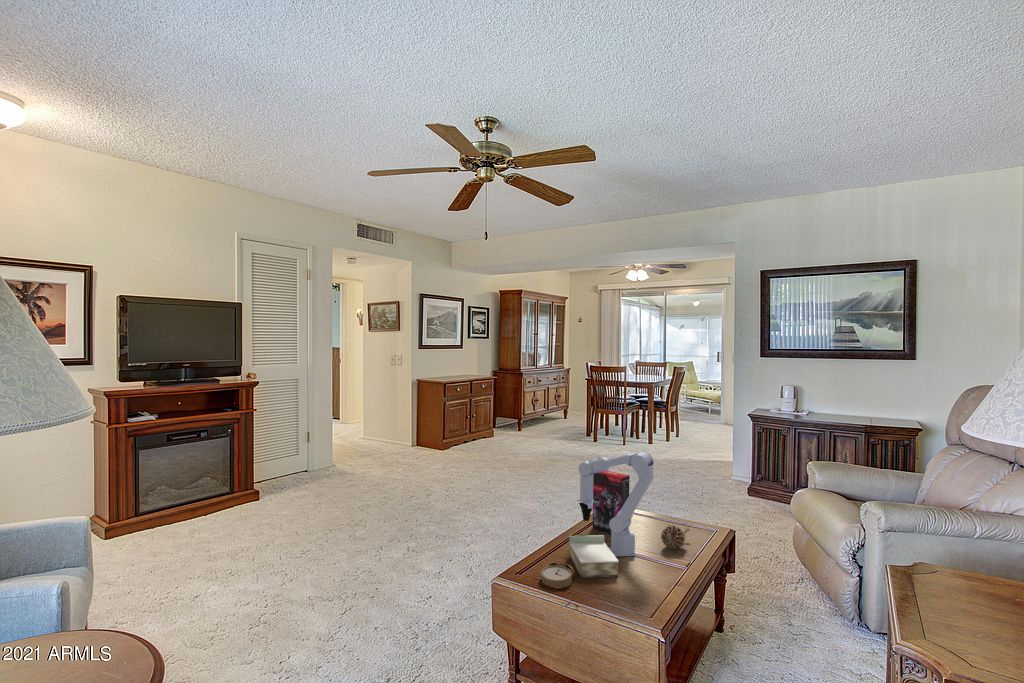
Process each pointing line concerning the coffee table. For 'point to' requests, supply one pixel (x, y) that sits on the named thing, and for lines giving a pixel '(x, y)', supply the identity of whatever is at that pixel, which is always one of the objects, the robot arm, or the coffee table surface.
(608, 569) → the case
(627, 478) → the graphics card box
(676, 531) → the pine cone
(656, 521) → the coffee table surface
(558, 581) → the alarm clock
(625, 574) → the coffee table surface
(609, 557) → the lid
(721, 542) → the coffee table surface
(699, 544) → the coffee table surface
